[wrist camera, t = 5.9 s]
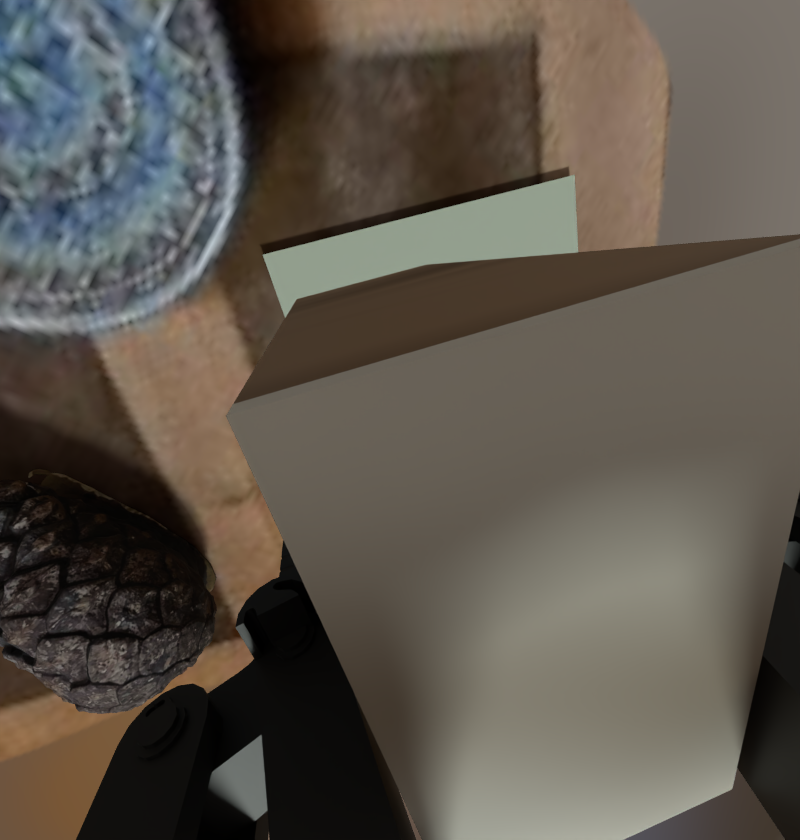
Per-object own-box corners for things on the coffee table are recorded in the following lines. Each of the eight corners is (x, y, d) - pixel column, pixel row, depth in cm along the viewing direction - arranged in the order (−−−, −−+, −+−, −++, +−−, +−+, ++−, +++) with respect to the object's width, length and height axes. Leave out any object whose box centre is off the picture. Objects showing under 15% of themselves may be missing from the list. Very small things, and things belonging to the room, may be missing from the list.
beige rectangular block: (296, 299, 11) (226, 416, 2) (425, 264, 12) (859, 229, 2) (361, 493, 14) (457, 916, 5) (463, 460, 14) (732, 789, 5)
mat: (263, 255, 25) (262, 254, 24) (569, 176, 27) (574, 174, 26) (337, 462, 31) (338, 465, 30) (579, 384, 33) (584, 386, 33)
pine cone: (38, 437, 26) (-112, 528, 17) (253, 563, 33) (230, 675, 24) (-53, 538, 27) (-241, 675, 18) (174, 639, 34) (124, 774, 25)
